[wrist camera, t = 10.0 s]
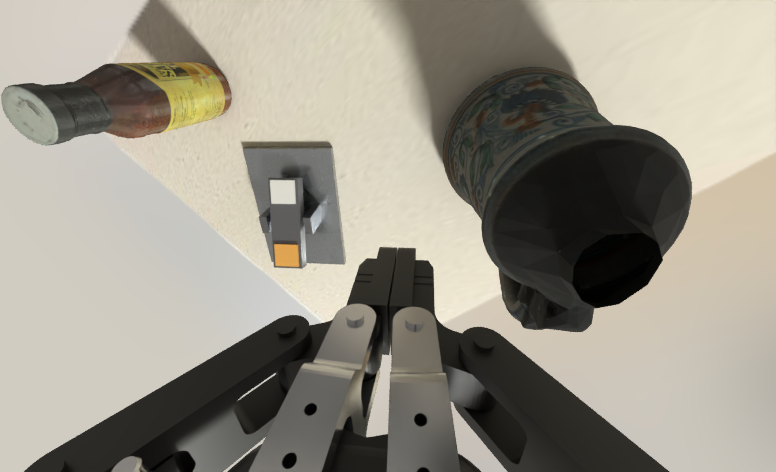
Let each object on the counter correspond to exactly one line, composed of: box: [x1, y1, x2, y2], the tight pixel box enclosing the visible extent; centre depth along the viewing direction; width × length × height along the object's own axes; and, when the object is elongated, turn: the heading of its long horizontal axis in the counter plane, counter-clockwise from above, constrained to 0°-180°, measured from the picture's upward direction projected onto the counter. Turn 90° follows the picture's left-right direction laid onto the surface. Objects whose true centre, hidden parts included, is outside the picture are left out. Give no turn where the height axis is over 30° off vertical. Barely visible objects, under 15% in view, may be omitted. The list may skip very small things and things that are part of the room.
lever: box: [268, 178, 307, 268], centre depth 41 cm, size 12×4×2 cm, turn 2°
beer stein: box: [443, 67, 692, 332], centre depth 28 cm, size 16×19×25 cm
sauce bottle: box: [2, 62, 232, 145], centre depth 30 cm, size 6×6×20 cm
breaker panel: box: [243, 147, 346, 264], centre depth 43 cm, size 18×12×5 cm, turn 2°
